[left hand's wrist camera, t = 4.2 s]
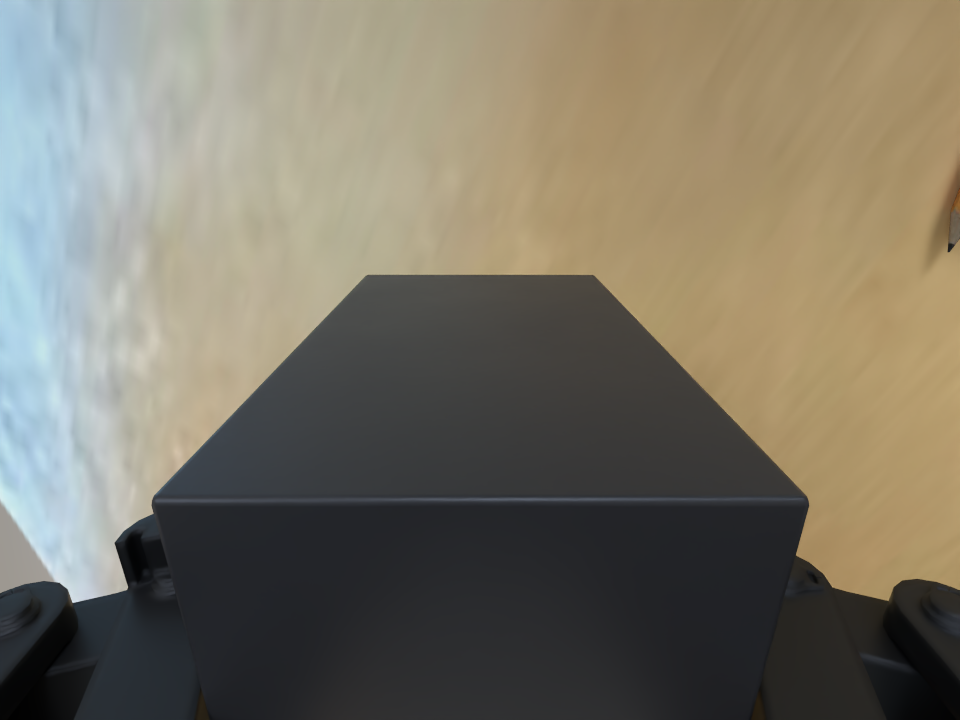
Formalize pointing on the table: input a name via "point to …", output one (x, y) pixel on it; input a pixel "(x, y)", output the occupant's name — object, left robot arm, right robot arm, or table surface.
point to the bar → (480, 520)
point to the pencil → (954, 223)
